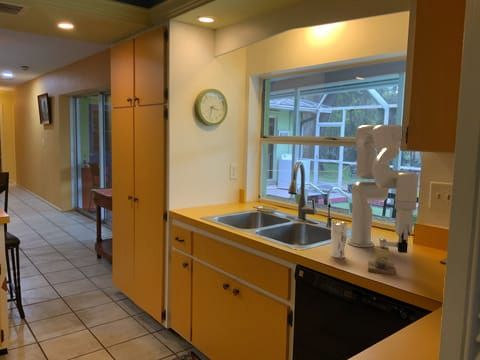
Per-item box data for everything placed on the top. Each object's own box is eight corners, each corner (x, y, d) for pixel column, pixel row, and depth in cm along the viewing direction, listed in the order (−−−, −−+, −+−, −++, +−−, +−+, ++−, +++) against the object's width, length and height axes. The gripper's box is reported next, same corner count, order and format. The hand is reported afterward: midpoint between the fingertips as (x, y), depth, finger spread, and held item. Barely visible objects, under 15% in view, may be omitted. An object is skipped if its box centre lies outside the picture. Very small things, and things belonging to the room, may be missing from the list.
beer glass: (334, 252, 179) (335, 220, 178) (348, 255, 175) (350, 223, 173) (327, 256, 174) (328, 223, 172) (341, 259, 170) (343, 225, 168)
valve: (368, 264, 164) (369, 243, 163) (393, 267, 160) (395, 245, 160) (367, 271, 154) (369, 249, 153) (395, 275, 151) (396, 252, 150)
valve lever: (379, 248, 156) (379, 239, 155) (378, 246, 158) (379, 238, 158) (405, 250, 152) (406, 242, 152) (404, 249, 155) (405, 240, 155)
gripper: (392, 201, 155) (389, 246, 157) (397, 207, 141) (394, 257, 143) (412, 202, 153) (409, 247, 155) (420, 209, 139) (416, 258, 141)
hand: (402, 252), depth 149 cm, fingers closed
